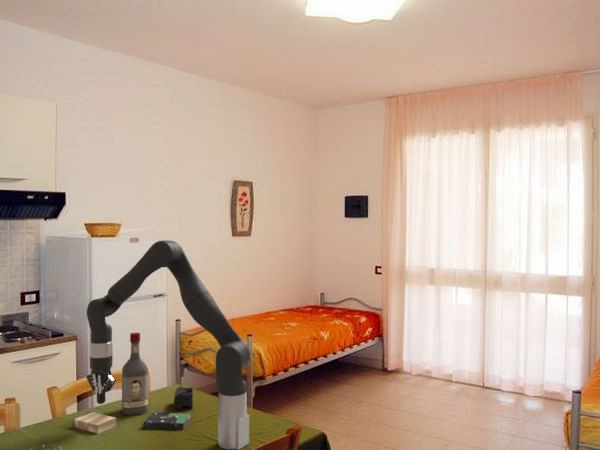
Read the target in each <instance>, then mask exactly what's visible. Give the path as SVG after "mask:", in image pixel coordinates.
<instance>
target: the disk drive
mask: <svg viewBox="0 0 600 450" xmlns="http://www.w3.org/2000/svg"><path fill="white" fill-rule="evenodd" d="M192 417H193V416H192V413H187V412H161V411H160V412H159V411H158V412H156V411H155V412H152V413H151V414H150V415H149V416H148V417H147V419H145V420H144V421H143V422H142V423H143V425H142V428H143V429H148V430H149V429H153V430H154V429H155V430H180V431H181V430H185V428H186V427H187V426H188V424H190V422H191V420H192V419H193V418H192Z"/></svg>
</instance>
